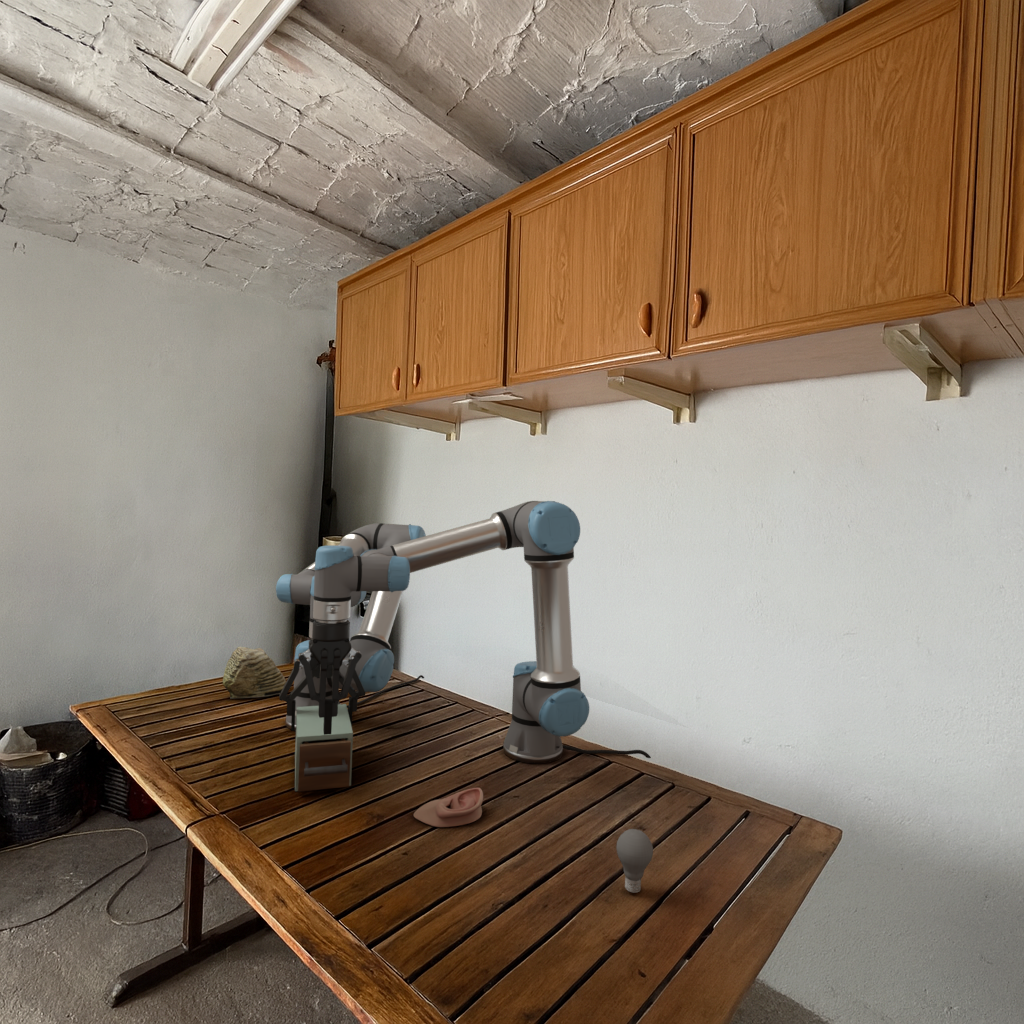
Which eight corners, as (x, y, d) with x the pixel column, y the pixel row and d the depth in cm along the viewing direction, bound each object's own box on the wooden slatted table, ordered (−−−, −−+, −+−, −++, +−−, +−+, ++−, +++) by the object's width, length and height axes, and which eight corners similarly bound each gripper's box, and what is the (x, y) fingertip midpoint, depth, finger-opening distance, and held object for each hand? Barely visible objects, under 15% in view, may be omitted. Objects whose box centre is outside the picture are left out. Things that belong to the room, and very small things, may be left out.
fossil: (218, 695, 195) (220, 647, 195) (278, 685, 208) (279, 640, 207) (228, 703, 189) (230, 653, 188) (289, 692, 201) (290, 645, 201)
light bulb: (610, 879, 108) (613, 822, 108) (644, 879, 109) (647, 822, 109) (619, 902, 102) (622, 840, 102) (655, 901, 103) (658, 840, 103)
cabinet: (350, 785, 139) (353, 732, 139) (294, 791, 136) (297, 737, 135) (344, 750, 158) (346, 703, 158) (294, 754, 154) (296, 706, 154)
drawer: (351, 797, 132) (353, 751, 132) (298, 803, 128) (300, 756, 128) (343, 753, 154) (344, 713, 154) (297, 756, 151) (299, 716, 151)
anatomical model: (408, 802, 124) (427, 778, 135) (407, 822, 124) (427, 796, 136) (473, 812, 122) (488, 786, 133) (473, 832, 122) (487, 805, 133)
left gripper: (270, 643, 145) (266, 736, 145) (378, 640, 153) (375, 728, 153) (271, 636, 152) (267, 724, 153) (375, 634, 160) (371, 717, 161)
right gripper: (298, 624, 127) (294, 741, 127) (365, 622, 131) (360, 736, 131) (298, 617, 134) (294, 727, 134) (361, 615, 138) (357, 723, 138)
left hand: (321, 726), depth 153 cm, fingers open, 12 cm apart
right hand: (327, 731), depth 133 cm, fingers closed
